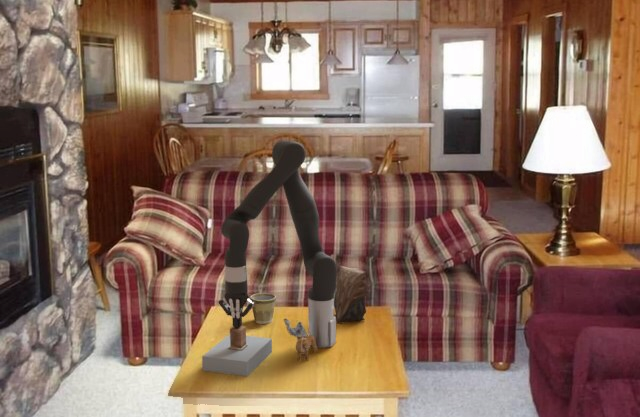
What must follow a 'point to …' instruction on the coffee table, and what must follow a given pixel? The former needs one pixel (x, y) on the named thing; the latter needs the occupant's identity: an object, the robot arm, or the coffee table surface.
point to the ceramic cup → (263, 307)
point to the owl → (350, 295)
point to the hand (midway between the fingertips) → (237, 327)
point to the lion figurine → (305, 346)
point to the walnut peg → (238, 338)
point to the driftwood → (296, 329)
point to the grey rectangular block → (237, 356)
